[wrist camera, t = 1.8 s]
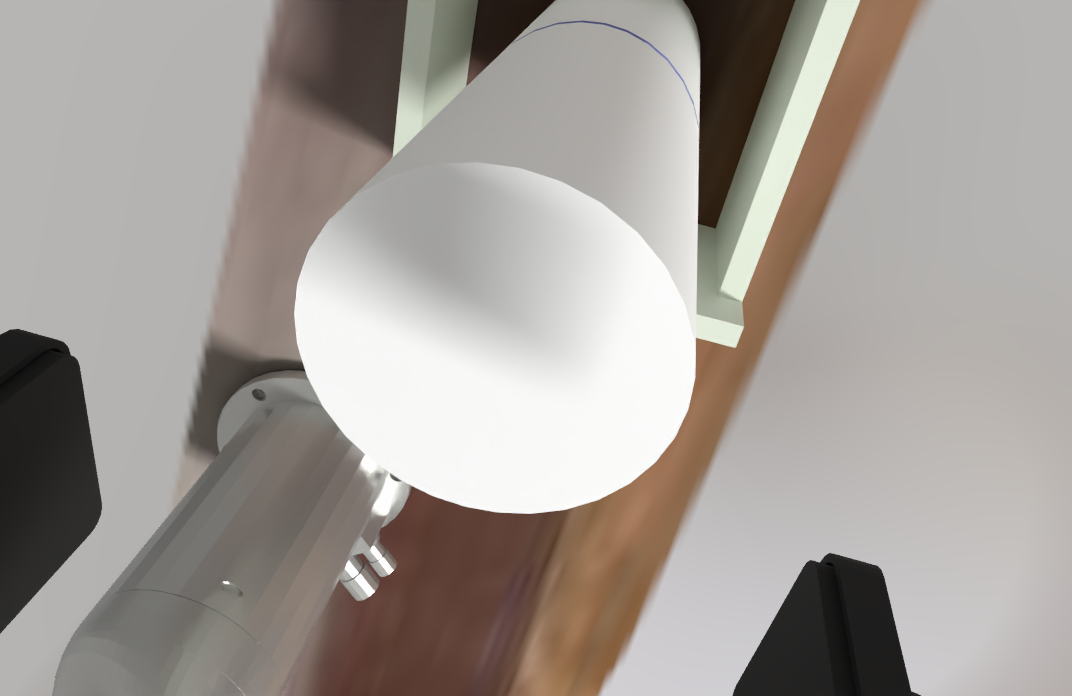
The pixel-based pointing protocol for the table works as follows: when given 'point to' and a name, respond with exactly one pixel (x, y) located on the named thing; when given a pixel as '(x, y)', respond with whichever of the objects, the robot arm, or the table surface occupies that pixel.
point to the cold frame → (765, 164)
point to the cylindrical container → (524, 271)
